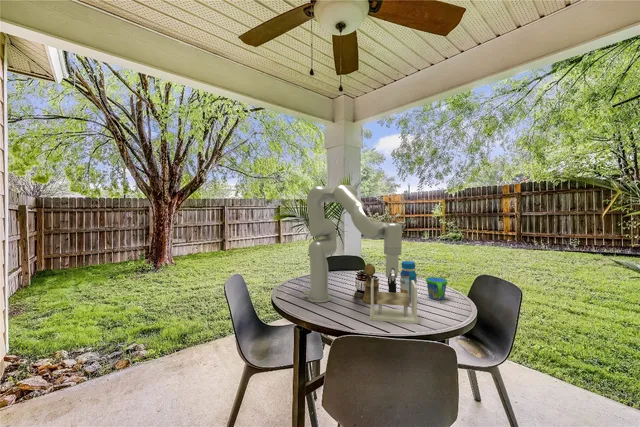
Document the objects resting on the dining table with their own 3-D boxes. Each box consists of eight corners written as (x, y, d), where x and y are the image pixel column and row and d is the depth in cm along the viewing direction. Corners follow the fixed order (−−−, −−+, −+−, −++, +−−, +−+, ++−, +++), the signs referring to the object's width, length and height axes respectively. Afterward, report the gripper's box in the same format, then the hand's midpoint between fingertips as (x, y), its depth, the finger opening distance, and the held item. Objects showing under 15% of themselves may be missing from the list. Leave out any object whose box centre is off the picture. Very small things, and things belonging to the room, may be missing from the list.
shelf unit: (369, 320, 122) (369, 285, 121) (370, 310, 133) (370, 278, 133) (418, 323, 118) (418, 287, 117) (414, 313, 129) (414, 280, 129)
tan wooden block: (376, 304, 124) (376, 295, 124) (376, 300, 129) (376, 291, 129) (409, 306, 122) (409, 296, 121) (408, 302, 126) (408, 293, 126)
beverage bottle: (417, 303, 142) (418, 264, 142) (400, 302, 144) (400, 263, 143) (415, 298, 150) (415, 260, 150) (399, 297, 152) (399, 260, 152)
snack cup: (449, 304, 141) (449, 283, 141) (427, 302, 144) (427, 282, 144) (444, 294, 156) (444, 276, 156) (424, 293, 159) (424, 275, 159)
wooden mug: (377, 295, 155) (377, 263, 154) (382, 304, 141) (382, 268, 141) (361, 295, 155) (361, 263, 155) (364, 304, 141) (364, 268, 141)
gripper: (383, 247, 134) (382, 283, 135) (384, 253, 117) (383, 294, 118) (399, 248, 133) (399, 284, 133) (403, 254, 116) (402, 295, 116)
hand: (391, 288), depth 126 cm, fingers open, 9 cm apart
